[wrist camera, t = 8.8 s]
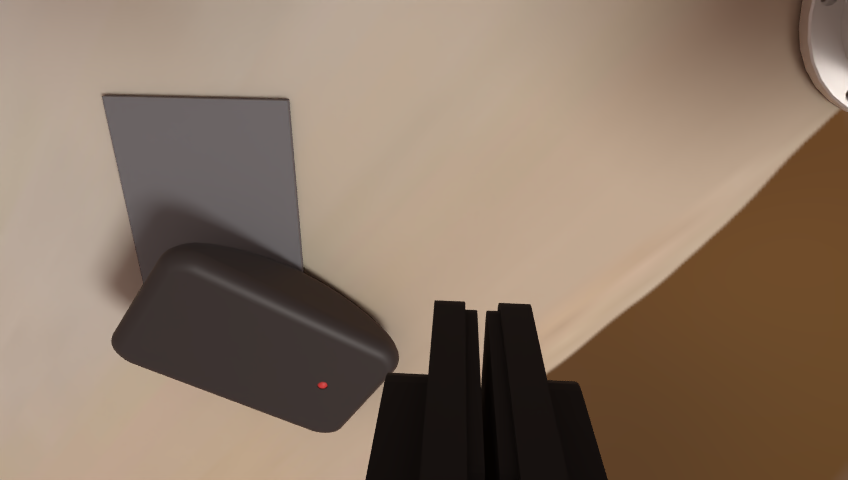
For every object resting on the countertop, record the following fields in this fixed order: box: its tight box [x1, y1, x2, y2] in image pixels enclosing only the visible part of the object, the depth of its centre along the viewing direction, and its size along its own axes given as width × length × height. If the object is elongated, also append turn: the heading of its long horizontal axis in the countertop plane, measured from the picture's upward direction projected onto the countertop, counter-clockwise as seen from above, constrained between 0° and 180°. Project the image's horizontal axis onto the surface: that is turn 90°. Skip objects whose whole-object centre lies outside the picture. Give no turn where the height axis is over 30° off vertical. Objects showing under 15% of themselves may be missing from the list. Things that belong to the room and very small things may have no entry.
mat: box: [102, 95, 304, 284], centre depth 36 cm, size 11×16×1 cm
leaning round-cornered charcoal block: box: [112, 242, 399, 433], centre depth 37 cm, size 16×5×9 cm
